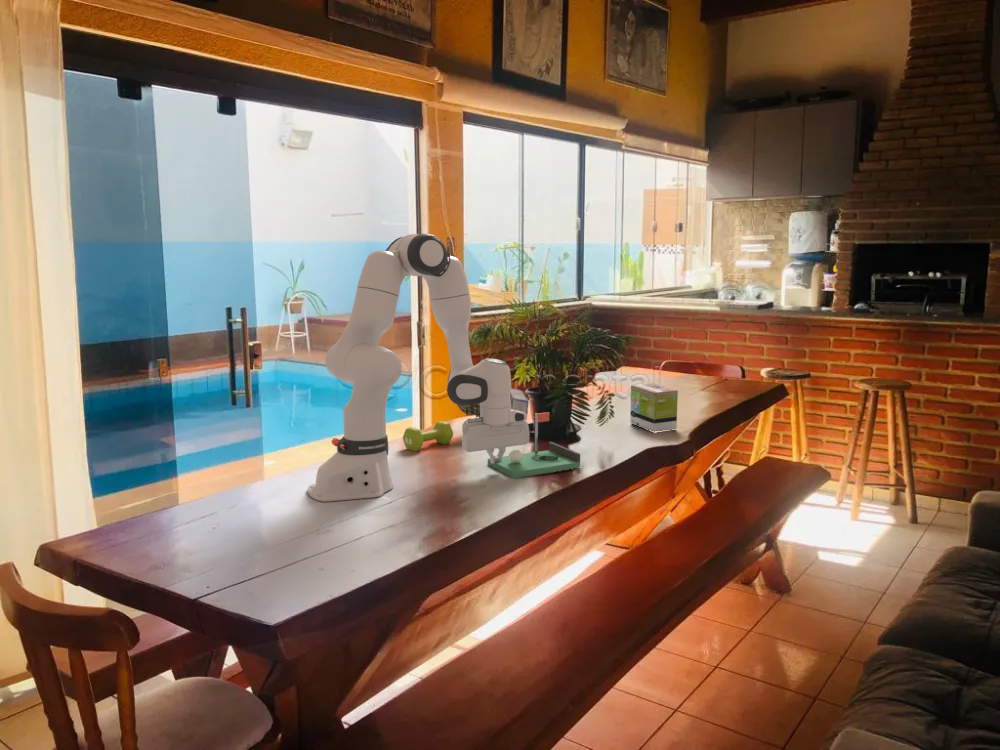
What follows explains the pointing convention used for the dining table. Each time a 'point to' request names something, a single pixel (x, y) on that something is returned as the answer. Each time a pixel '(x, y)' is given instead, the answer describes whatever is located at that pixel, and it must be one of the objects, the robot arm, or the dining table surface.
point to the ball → (515, 456)
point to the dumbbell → (427, 436)
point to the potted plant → (516, 399)
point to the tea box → (654, 407)
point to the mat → (540, 462)
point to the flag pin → (538, 418)
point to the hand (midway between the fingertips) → (496, 462)
